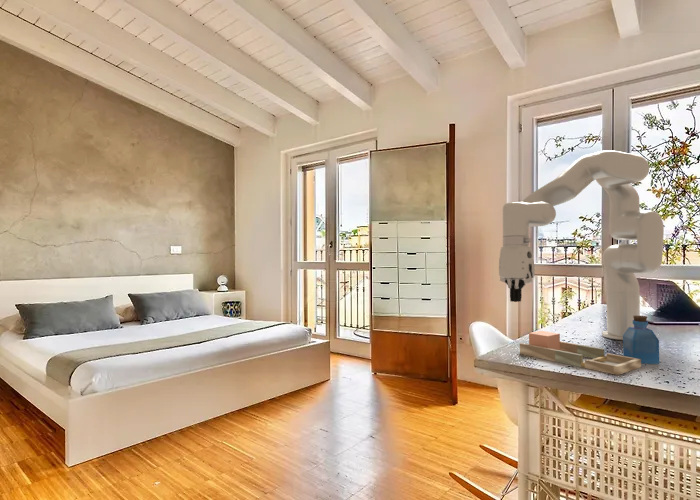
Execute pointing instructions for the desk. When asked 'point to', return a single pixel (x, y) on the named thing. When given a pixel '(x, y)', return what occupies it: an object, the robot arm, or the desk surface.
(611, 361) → the corridor
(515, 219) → the robot arm
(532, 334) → the block
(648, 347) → the perfume bottle
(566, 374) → the desk surface
